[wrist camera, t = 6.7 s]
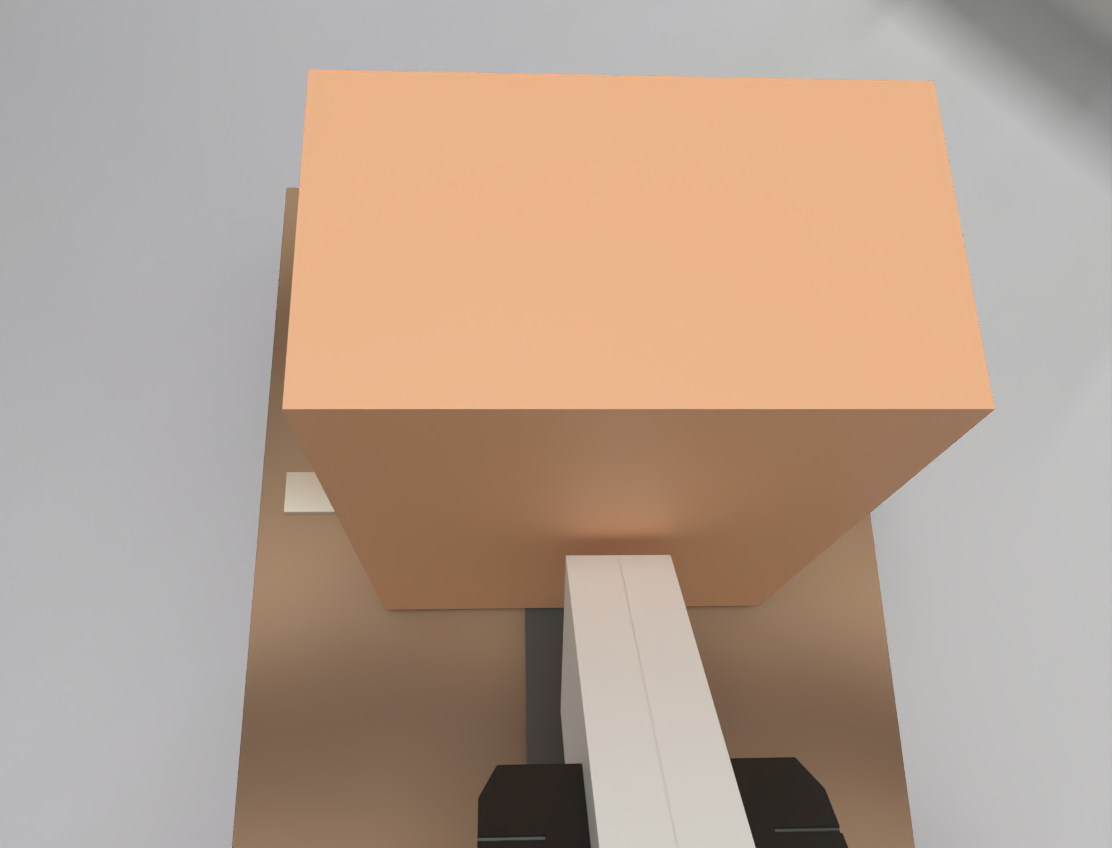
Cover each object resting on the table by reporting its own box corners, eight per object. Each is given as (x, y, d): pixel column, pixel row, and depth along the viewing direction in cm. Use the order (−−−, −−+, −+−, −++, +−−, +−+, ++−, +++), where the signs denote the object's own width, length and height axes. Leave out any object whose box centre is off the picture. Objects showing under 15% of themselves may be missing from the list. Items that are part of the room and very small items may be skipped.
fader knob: (758, 605, 20) (994, 409, 10) (385, 609, 19) (281, 409, 10) (739, 408, 21) (934, 80, 12) (392, 408, 21) (308, 69, 11)
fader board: (949, 1521, 17) (1026, 1642, 15) (209, 1570, 17) (157, 1703, 14) (796, 251, 26) (829, 189, 23) (305, 246, 25) (284, 182, 23)
